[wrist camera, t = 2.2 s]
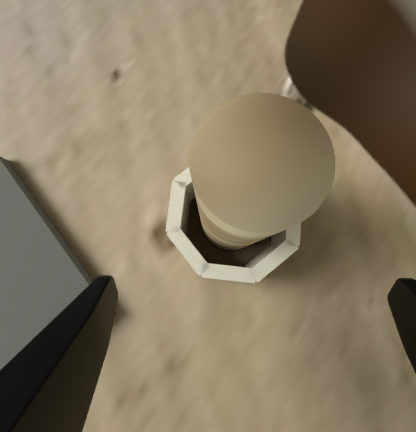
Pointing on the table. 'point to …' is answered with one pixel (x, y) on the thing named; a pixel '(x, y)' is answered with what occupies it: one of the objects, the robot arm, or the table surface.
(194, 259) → the holder cup
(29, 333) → the rubber mat
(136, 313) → the table surface
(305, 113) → the birch peg
